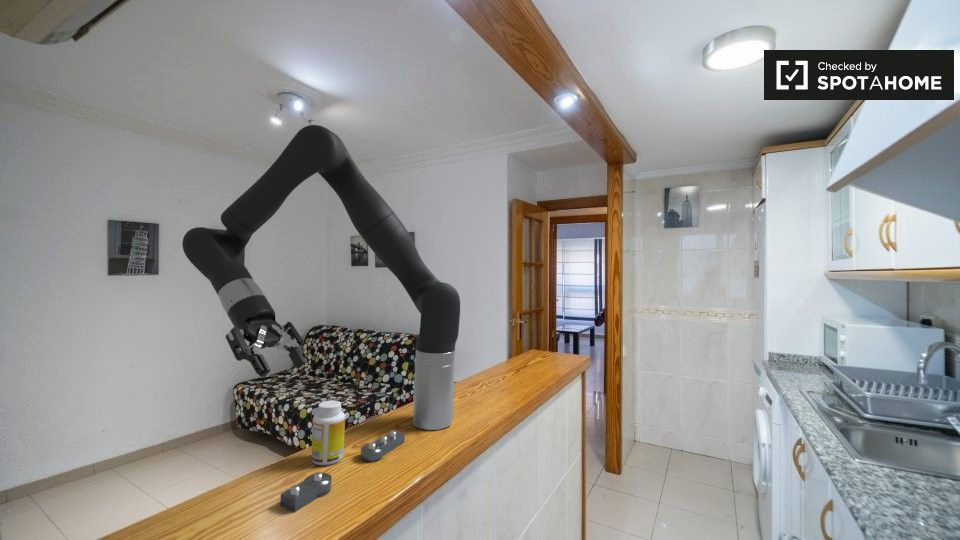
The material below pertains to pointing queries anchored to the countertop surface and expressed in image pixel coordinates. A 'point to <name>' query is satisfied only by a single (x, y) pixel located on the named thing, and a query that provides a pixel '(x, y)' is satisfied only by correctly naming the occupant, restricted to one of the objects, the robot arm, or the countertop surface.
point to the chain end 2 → (381, 446)
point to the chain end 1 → (306, 491)
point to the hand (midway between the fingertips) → (285, 369)
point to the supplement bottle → (328, 434)
